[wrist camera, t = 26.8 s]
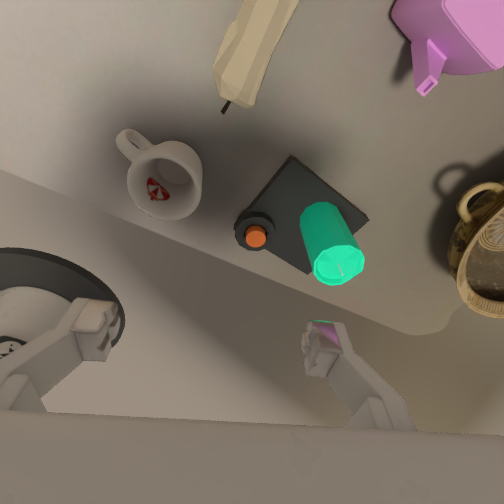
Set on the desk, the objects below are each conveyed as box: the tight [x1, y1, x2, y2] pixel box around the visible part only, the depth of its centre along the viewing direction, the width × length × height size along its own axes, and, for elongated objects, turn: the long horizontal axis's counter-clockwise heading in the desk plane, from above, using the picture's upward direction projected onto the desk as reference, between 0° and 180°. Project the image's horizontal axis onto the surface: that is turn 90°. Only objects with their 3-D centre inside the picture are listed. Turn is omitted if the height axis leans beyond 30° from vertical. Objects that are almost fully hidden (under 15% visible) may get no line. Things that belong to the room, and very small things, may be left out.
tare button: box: [246, 225, 266, 247], centre depth 40 cm, size 3×3×2 cm
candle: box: [299, 202, 365, 285], centre depth 36 cm, size 6×6×12 cm
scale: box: [234, 155, 369, 275], centre depth 42 cm, size 14×15×3 cm
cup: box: [116, 129, 203, 221], centre depth 33 cm, size 11×8×8 cm
